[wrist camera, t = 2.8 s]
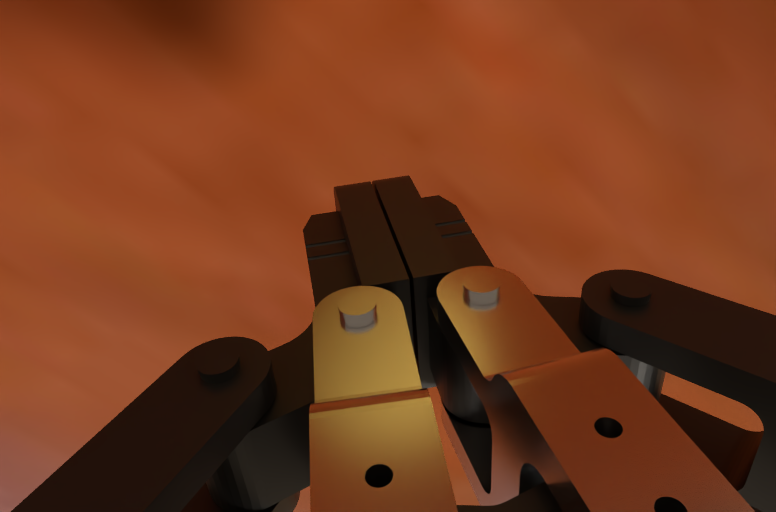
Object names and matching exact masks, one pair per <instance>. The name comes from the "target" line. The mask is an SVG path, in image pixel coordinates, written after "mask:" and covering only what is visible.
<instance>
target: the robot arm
mask: <svg viewBox="0 0 776 512" xmlns="http://www.w3.org/2000/svg"><path fill="white" fill-rule="evenodd" d="M334 196H335V204H336V212H329V213H323V214H316V215H311V217H310V219H309V221H308V222H307V224H306V226H305V227H304V229H303V233H304V239H305V245H306V252H307V258H308V264H309V270H310V276H311V283H312V289H313V295H314V301H315V310H314V312H313V321H312V323H311V324H310V325H309V327H308V328H307V329H306V330H305V331H304V332H303V333H302V334H301V335H299V336H298V337H297V338H295V339H293V340H292V341H290V342H288V343H286V344H284V345H282V346H279V347H277V348H275V349H272V350H270V351H267V349H266V348H265V347H264V346H263V345H262V344H260V343H259V342H257V341H255V340H253V339H249V338H245V337H224V338H219V339H215V340H211V341H208V342H205V343H203V344H201V345H199V346H197V347H195V348H193V349H192V350H190V351H189V352H187V353H186V354H185V355H184V356H182V357H181V358H180V359H179V360H178V361H177V362H176V363H175V364H174V365H172V366H171V367H170V368H169V369H168V370H167V371H166V372H165V373H164V374H162V375H161V376H160V377H159V378H158V379H157V380H156V381H155V382H154V383H153V384H151V385H150V386H149V387H148V388H147V389H146V390H145V391H144V392H143V393H141V394H140V395H139V396H138V397H137V398H136V399H135V400H134V401H133V402H132V403H130V404H129V405H128V406H127V407H126V408H125V409H124V410H123V411H122V412H120V413H119V414H118V415H117V416H116V417H115V418H114V419H113V420H112V421H111V422H109V423H108V424H107V425H106V426H105V427H104V428H103V429H102V430H101V431H99V432H98V433H97V434H96V435H95V436H94V437H93V438H92V439H91V440H90V441H88V442H87V443H86V444H85V445H84V446H83V447H82V448H81V449H80V450H78V451H77V452H76V453H75V454H74V455H73V456H72V457H71V458H70V459H69V460H67V461H66V462H65V463H64V464H63V465H62V466H61V467H60V468H59V469H57V470H56V471H55V472H54V473H53V474H52V475H51V476H50V477H49V478H48V479H46V480H45V481H44V482H43V483H42V484H41V485H40V486H39V487H38V488H36V489H35V490H34V491H33V492H32V493H31V494H30V495H29V496H28V497H27V498H25V499H24V500H23V501H22V502H21V503H20V504H19V505H18V506H17V507H15V508H14V509H13V510H12V511H11V512H293V510H294V509H295V507H296V505H297V502H298V500H299V495H300V490H302V489H304V488H306V487H308V486H310V503H311V512H776V316H775V315H772V314H769V313H766V312H763V311H760V310H757V309H754V308H751V307H748V306H745V305H742V304H739V303H736V302H733V301H730V300H727V299H724V298H720V297H717V296H714V295H711V294H708V293H705V292H702V291H699V290H696V289H693V288H690V287H687V286H684V285H681V284H678V283H675V282H672V281H668V280H665V279H662V278H659V277H656V276H653V275H650V274H647V273H643V272H639V271H633V270H609V271H604V272H601V273H598V274H595V275H593V276H592V277H590V278H589V279H588V280H587V281H586V282H585V283H584V285H583V287H582V294H581V298H579V297H551V296H540V295H534V294H532V292H531V291H530V290H529V289H528V288H527V286H526V285H525V284H524V283H523V281H522V280H521V279H520V278H519V277H517V276H516V275H514V274H513V273H511V272H509V271H506V270H504V269H500V268H496V267H494V266H493V264H492V263H491V261H490V259H489V258H488V256H487V255H486V253H485V251H484V250H483V248H482V247H481V245H480V243H479V242H478V240H477V238H476V237H475V235H474V234H473V233H472V230H471V229H470V227H469V226H468V224H467V222H465V219H464V218H463V216H462V214H461V213H460V211H459V209H458V208H457V206H456V205H454V204H453V203H451V202H449V201H447V200H446V199H444V198H442V197H441V196H439V195H437V196H431V197H424V198H421V197H420V195H419V193H418V191H417V189H416V187H415V185H414V183H413V182H412V180H411V178H410V176H402V177H396V178H389V179H382V180H376V181H373V182H372V184H371V182H363V183H357V184H350V185H343V186H337V187H334ZM665 372H668V373H670V374H673V375H675V376H677V377H680V378H682V379H685V380H687V381H690V382H692V383H694V384H697V385H699V386H702V387H704V388H707V389H709V390H711V391H714V392H716V393H719V394H721V395H724V396H726V397H728V398H731V399H733V400H736V401H738V402H740V403H743V404H745V405H746V406H748V407H749V408H751V409H752V410H753V411H754V412H755V413H756V414H757V415H758V416H759V418H760V419H761V421H762V423H763V426H764V431H761V432H753V431H748V430H745V429H742V428H740V427H737V426H735V425H733V424H730V423H728V422H726V421H723V420H721V419H719V418H717V417H714V416H712V415H710V414H707V413H705V412H703V411H700V410H698V409H696V408H693V407H691V406H689V405H686V404H684V403H682V402H680V401H677V400H675V399H673V398H670V397H668V396H666V395H663V394H661V390H662V386H663V381H664V377H665ZM435 386H437V388H438V391H439V394H440V397H441V417H442V422H443V425H444V428H445V430H446V432H447V434H448V436H449V438H450V441H451V443H452V445H453V447H454V449H455V451H456V454H457V456H458V458H459V460H460V462H461V464H462V467H463V469H464V471H465V473H466V475H467V477H468V480H469V482H470V484H471V486H472V488H473V490H474V493H475V495H476V497H477V499H478V501H479V503H480V506H472V505H456V501H455V497H454V493H453V489H452V485H451V481H450V476H449V472H448V468H447V464H446V460H445V456H444V452H443V447H442V443H441V439H440V435H439V431H438V427H437V423H436V418H435V414H434V410H433V406H432V402H431V398H430V395H429V392H428V389H427V388H430V387H435Z"/></svg>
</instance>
